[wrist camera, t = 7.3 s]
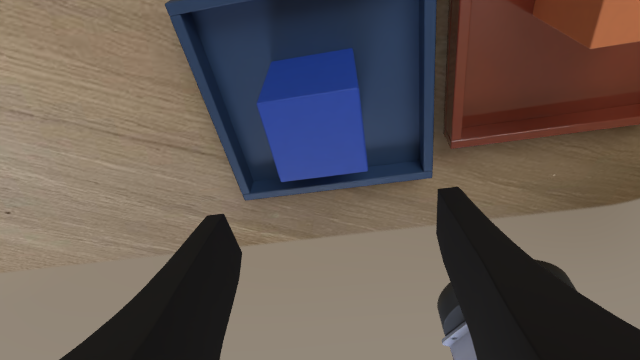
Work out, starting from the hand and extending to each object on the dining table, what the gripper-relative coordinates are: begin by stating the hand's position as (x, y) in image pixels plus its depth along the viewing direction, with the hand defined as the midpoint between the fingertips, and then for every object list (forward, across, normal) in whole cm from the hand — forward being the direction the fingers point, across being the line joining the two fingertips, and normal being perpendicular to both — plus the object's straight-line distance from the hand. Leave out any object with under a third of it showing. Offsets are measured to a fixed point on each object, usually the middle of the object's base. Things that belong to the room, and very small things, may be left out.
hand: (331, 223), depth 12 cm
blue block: (+8, 0, -1) cm, 9 cm away
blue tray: (+9, 0, -1) cm, 9 cm away
